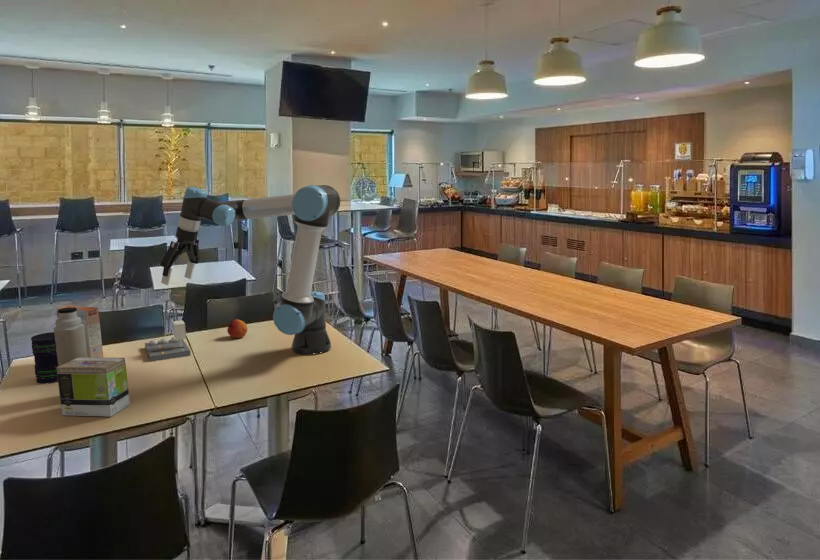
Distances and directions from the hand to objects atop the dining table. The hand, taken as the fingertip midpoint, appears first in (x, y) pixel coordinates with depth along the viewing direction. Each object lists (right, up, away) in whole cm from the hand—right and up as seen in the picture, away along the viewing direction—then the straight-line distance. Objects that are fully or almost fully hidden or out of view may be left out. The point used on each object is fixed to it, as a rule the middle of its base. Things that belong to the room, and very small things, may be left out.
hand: (176, 280), depth 219 cm
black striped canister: (-31, -33, -26) cm, 52 cm away
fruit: (+17, -24, +23) cm, 37 cm away
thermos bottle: (-14, -36, -42) cm, 57 cm away
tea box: (-2, -38, -52) cm, 65 cm away
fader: (+1, -25, +2) cm, 25 cm away
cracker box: (-30, -30, -9) cm, 44 cm away
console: (-5, -28, +4) cm, 28 cm away
